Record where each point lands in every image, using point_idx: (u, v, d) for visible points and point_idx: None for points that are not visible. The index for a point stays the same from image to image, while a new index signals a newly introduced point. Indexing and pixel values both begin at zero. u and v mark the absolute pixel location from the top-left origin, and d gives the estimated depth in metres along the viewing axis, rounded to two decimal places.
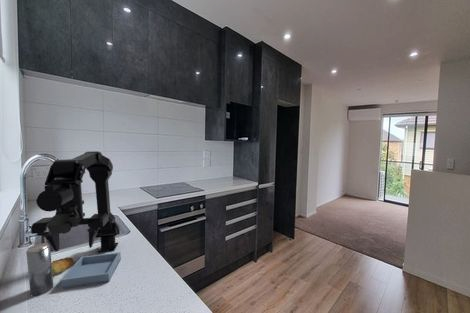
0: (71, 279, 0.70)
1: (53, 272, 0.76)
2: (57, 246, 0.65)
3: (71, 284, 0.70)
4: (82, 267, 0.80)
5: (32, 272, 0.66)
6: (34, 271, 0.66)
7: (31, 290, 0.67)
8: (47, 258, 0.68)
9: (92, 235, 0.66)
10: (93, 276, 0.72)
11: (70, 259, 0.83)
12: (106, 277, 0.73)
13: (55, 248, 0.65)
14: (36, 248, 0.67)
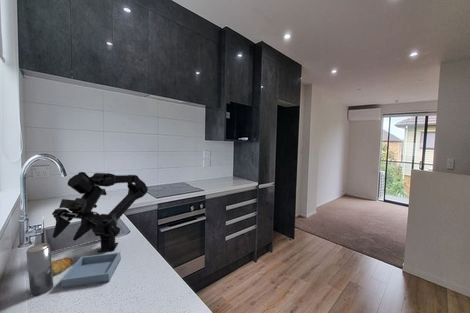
0: (71, 279, 0.70)
1: (52, 272, 0.76)
2: (56, 233, 0.78)
3: (71, 284, 0.70)
4: (82, 267, 0.80)
5: (32, 272, 0.66)
6: (34, 271, 0.66)
7: (31, 290, 0.67)
8: (47, 258, 0.68)
9: (81, 227, 0.76)
10: (93, 276, 0.72)
11: (69, 259, 0.83)
12: (106, 277, 0.73)
13: (54, 233, 0.77)
14: (36, 248, 0.67)
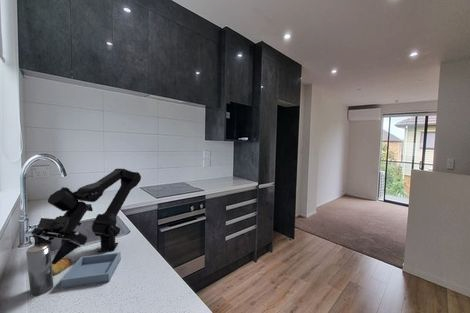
0: (71, 279, 0.70)
1: None
2: None
3: (71, 284, 0.70)
4: (82, 267, 0.80)
5: (32, 272, 0.66)
6: (34, 271, 0.66)
7: (31, 290, 0.67)
8: (47, 258, 0.68)
9: (61, 248, 0.70)
10: (93, 276, 0.72)
11: (68, 259, 0.83)
12: (106, 277, 0.73)
13: None
14: (36, 248, 0.67)
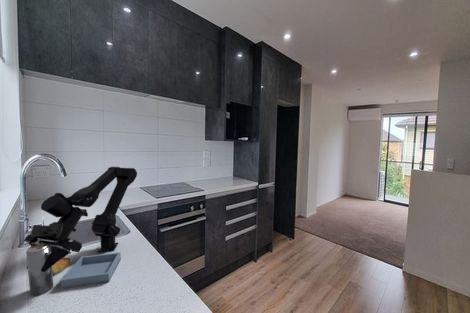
0: (71, 279, 0.70)
1: None
2: None
3: (71, 284, 0.70)
4: (82, 267, 0.80)
5: (32, 272, 0.66)
6: (34, 271, 0.66)
7: (30, 290, 0.67)
8: (47, 258, 0.68)
9: (51, 256, 0.68)
10: (93, 276, 0.72)
11: (67, 259, 0.83)
12: (106, 277, 0.73)
13: None
14: (36, 248, 0.67)
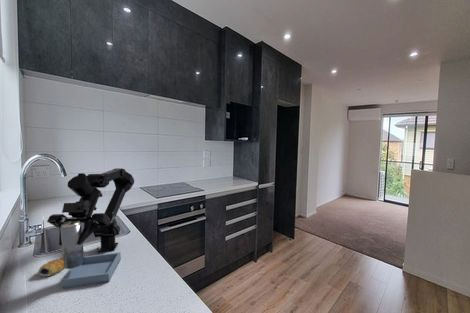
0: (71, 279, 0.70)
1: (50, 272, 0.76)
2: None
3: (71, 284, 0.70)
4: (82, 267, 0.80)
5: (69, 246, 0.70)
6: (71, 244, 0.70)
7: (66, 264, 0.71)
8: None
9: (85, 230, 0.73)
10: (93, 276, 0.72)
11: None
12: (106, 277, 0.73)
13: (60, 240, 0.71)
14: (69, 223, 0.71)
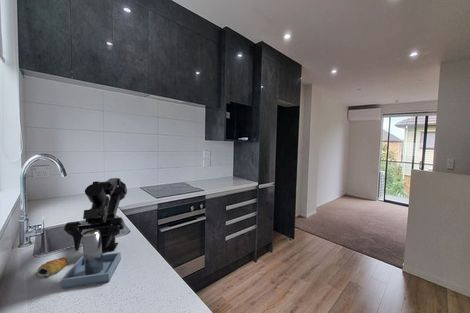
0: (71, 279, 0.70)
1: (48, 272, 0.76)
2: (78, 246, 0.76)
3: (71, 284, 0.70)
4: (82, 267, 0.80)
5: (92, 253, 0.75)
6: (94, 252, 0.75)
7: (90, 271, 0.75)
8: None
9: (110, 233, 0.79)
10: (93, 276, 0.72)
11: (64, 259, 0.83)
12: (106, 277, 0.73)
13: (76, 246, 0.75)
14: (91, 233, 0.76)
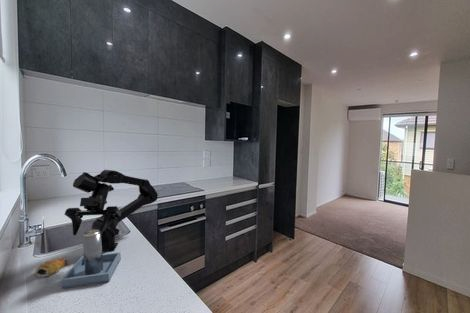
0: (71, 279, 0.70)
1: (47, 272, 0.76)
2: (76, 231, 0.81)
3: (71, 284, 0.70)
4: (82, 267, 0.80)
5: (92, 253, 0.75)
6: (94, 252, 0.75)
7: (90, 271, 0.75)
8: None
9: (105, 221, 0.83)
10: (93, 276, 0.72)
11: (63, 259, 0.83)
12: (106, 277, 0.73)
13: (74, 231, 0.80)
14: (91, 233, 0.76)
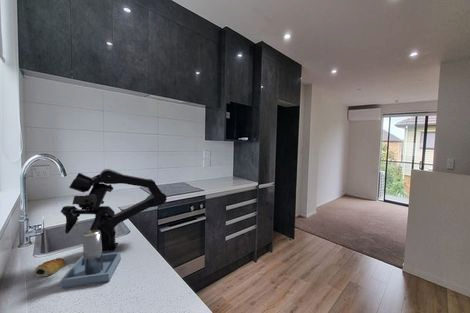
0: (71, 279, 0.70)
1: (46, 272, 0.76)
2: (68, 229, 0.81)
3: (71, 284, 0.70)
4: (82, 267, 0.80)
5: (92, 253, 0.75)
6: (94, 252, 0.75)
7: (90, 271, 0.75)
8: None
9: (96, 220, 0.82)
10: (93, 276, 0.72)
11: (61, 259, 0.83)
12: (106, 277, 0.73)
13: (66, 229, 0.80)
14: (91, 233, 0.76)
